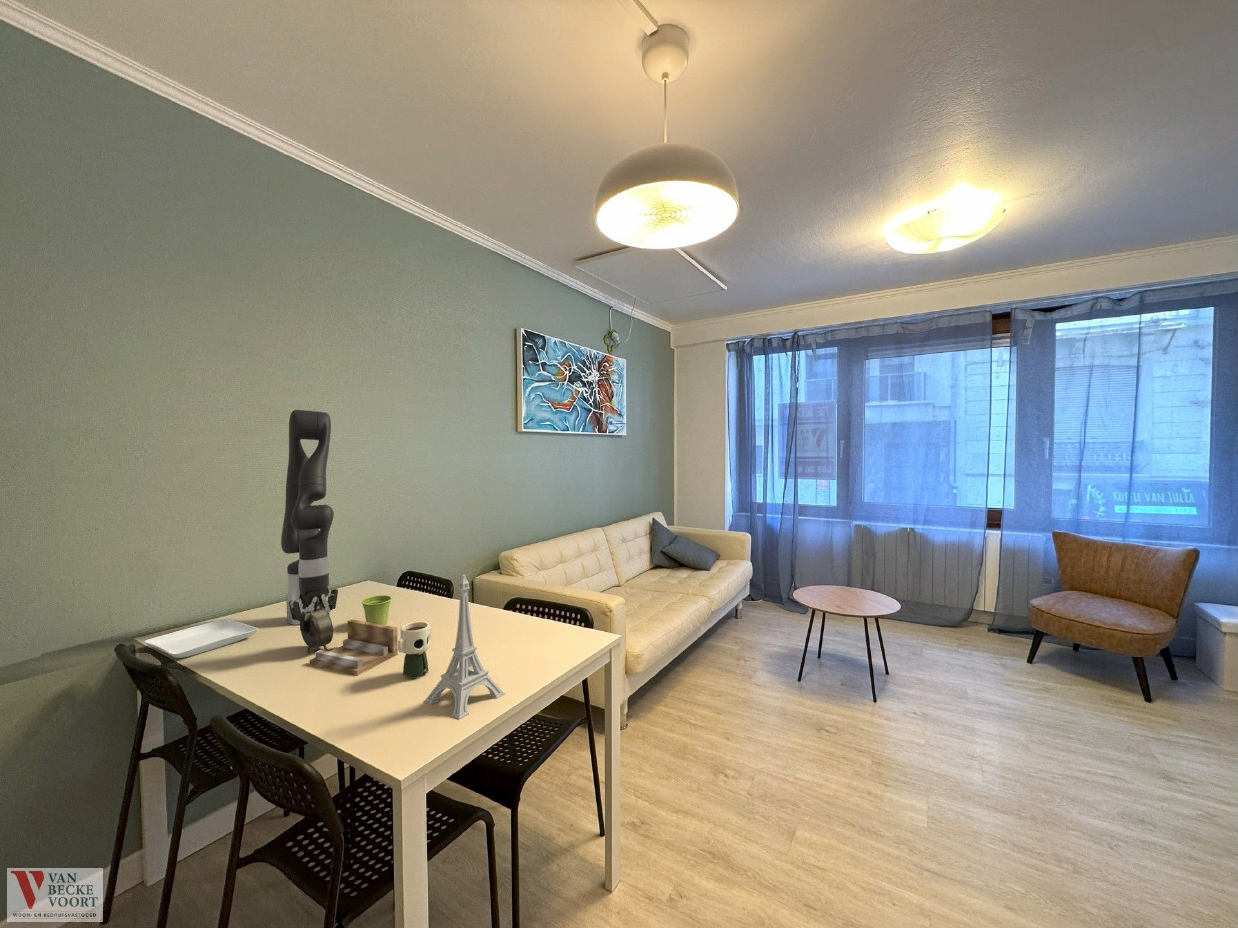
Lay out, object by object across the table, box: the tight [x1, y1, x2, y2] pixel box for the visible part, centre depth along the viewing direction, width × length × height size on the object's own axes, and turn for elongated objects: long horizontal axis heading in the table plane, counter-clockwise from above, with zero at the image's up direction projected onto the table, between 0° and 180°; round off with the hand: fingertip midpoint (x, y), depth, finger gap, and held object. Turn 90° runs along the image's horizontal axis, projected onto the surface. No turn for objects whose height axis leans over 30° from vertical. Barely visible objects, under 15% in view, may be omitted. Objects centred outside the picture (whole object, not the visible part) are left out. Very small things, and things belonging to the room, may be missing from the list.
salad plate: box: [143, 618, 259, 659], centre depth 146 cm, size 21×21×3 cm
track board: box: [309, 619, 399, 676], centre depth 135 cm, size 18×14×8 cm
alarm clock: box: [300, 598, 334, 653], centre depth 141 cm, size 11×5×16 cm, turn 57°
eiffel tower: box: [423, 574, 506, 720], centre depth 114 cm, size 13×13×30 cm
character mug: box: [398, 621, 432, 679], centre depth 126 cm, size 11×7×13 cm, turn 158°
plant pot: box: [360, 594, 393, 625], centre depth 161 cm, size 9×9×9 cm
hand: (315, 628), depth 141 cm, fingers closed on alarm clock, 5 cm apart
